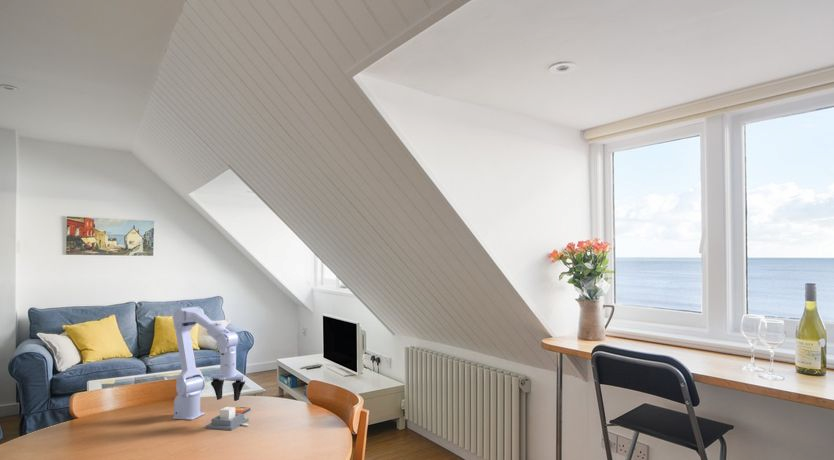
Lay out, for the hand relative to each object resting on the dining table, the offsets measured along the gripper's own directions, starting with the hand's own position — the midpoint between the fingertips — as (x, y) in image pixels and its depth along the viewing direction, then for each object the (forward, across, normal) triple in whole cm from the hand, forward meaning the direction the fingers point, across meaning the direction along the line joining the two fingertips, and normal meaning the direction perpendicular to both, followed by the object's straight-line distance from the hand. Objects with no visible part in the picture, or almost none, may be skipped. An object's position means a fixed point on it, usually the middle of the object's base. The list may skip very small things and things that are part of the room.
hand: (228, 399), depth 191 cm
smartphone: (+10, -5, +11) cm, 16 cm away
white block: (+8, 0, 0) cm, 8 cm away
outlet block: (+9, +2, 0) cm, 10 cm away
